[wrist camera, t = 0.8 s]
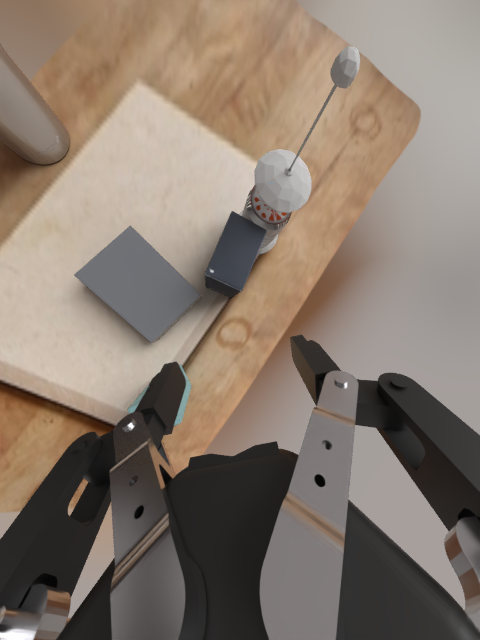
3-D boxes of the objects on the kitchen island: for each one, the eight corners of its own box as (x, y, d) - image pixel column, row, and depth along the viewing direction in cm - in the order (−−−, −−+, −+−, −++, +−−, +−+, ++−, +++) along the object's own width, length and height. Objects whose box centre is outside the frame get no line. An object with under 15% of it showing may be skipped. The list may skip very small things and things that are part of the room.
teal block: (156, 376, 34) (127, 409, 22) (180, 364, 34) (164, 390, 23) (168, 397, 34) (146, 441, 22) (191, 385, 35) (181, 422, 23)
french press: (224, 234, 35) (256, 46, 10) (254, 190, 36) (352, -84, 11) (262, 263, 37) (369, 159, 12) (290, 220, 37) (446, 38, 13)
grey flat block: (91, 280, 31) (73, 275, 27) (140, 236, 32) (130, 225, 28) (158, 339, 33) (151, 342, 30) (201, 296, 35) (200, 294, 31)
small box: (233, 299, 36) (243, 293, 25) (204, 286, 35) (202, 274, 24) (252, 253, 36) (269, 229, 26) (224, 239, 35) (230, 208, 25)
